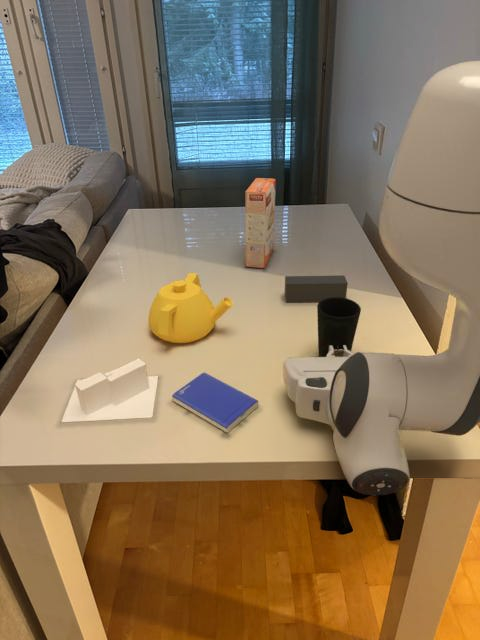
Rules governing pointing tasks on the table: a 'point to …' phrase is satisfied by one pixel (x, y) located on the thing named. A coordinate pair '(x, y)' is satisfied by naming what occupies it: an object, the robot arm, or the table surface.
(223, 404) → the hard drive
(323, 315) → the cup
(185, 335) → the teapot
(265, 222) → the cracker box
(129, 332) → the table surface
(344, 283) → the stop block
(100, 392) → the napkin holder
